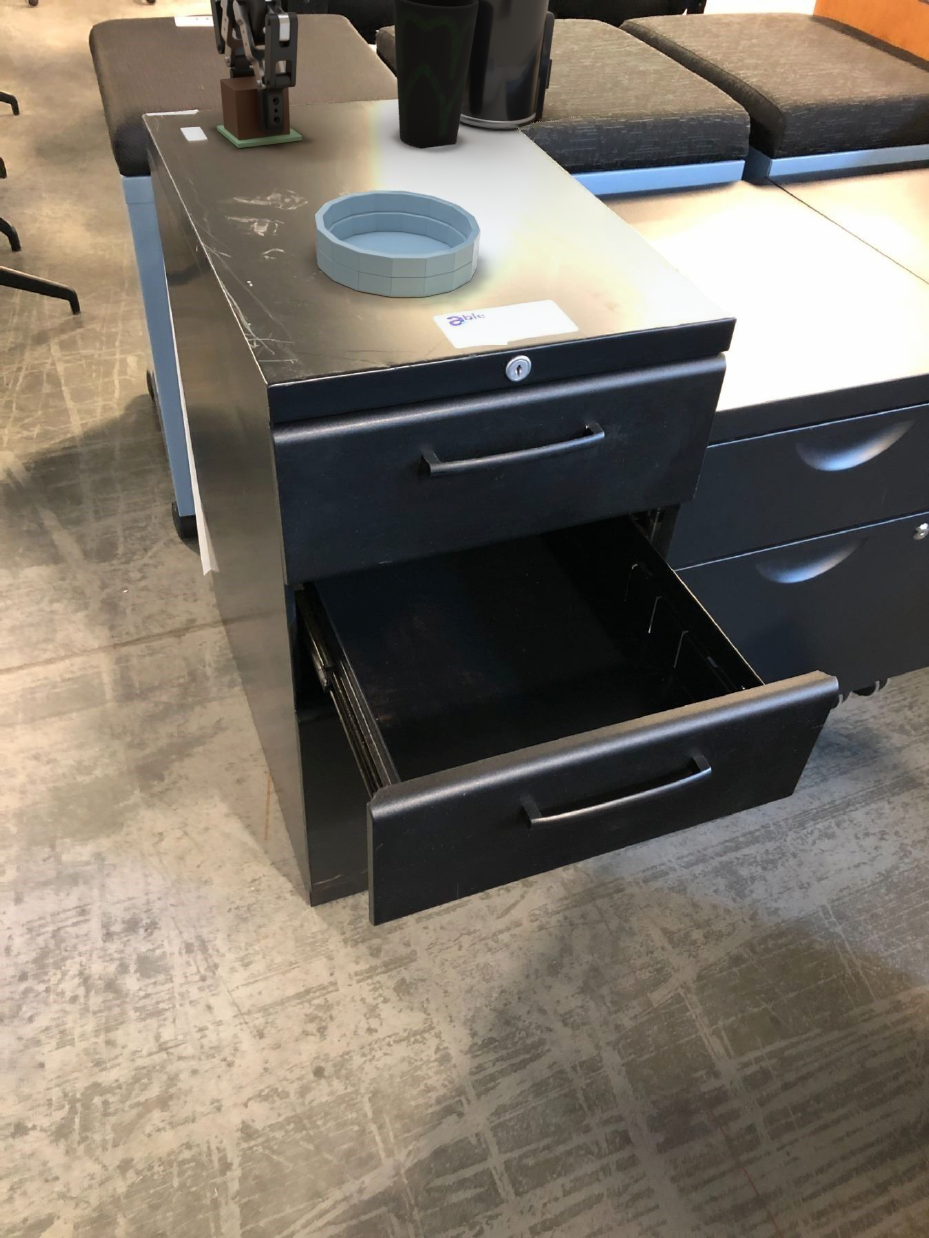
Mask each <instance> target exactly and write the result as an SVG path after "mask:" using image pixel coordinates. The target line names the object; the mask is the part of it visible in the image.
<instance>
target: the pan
mask: <svg viewBox="0 0 929 1238" xmlns="http://www.w3.org/2000/svg"><path fill="white" fill-rule="evenodd" d="M480 239H481V228H480V226H479V223H478V221H477V219H476V216H475V215H473V214H472V213H470V212H469V211H467V210H466V209H465V208H464V207H462V206H460V205H459V204H457V203H454V202H451V201H449V200H445V199H442V198H440V197H437V196H435V195H431V194H426V193H425V194H424V193H420V192H419V193H418V192H414V191H413V192H412V191H406V190H383V189H381V190H380V189H377V190H376V189H373V190H367V191H366V190H365V191H359V192H353V193H346V194H343V195H341V196H338V197H336V198H334V199H331V200H329V201H326V202H325V203H323V205H322V206H321V207H320V208H319V209H318V210H317V211H316V213H314V241H315V243H314V245H315V246H314V247H315V257H316V263H317V267H318V269H320V270H321V271H322V272H323V273H324V274H325V275H326V276H327V277H328V278H329V279H330V280H332V281H334V282H335V283H338V284H340V285H342V286H345V287H348V288H350V289H352V290H355V291H357V292H361V293H365V294H366V293H367V294H372V295H379V296H384V297H389V298H425V297H429V296H435V295H439V294H444V293H448V292H449V293H450V292H452V291H454V290H456V289H458V288H459V287H461V286H463V285H465V284H466V283H469V282H470V281H471V280H472V278H473V276H474V274H475V271H476V270H477V268H478V262H479V261H478V260H479V248H480Z"/></svg>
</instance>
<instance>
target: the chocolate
mask: <svg viewBox="0 0 929 1238" xmlns="http://www.w3.org/2000/svg"><path fill="white" fill-rule="evenodd" d="M219 82H220V83H219V84H220V95H221V97H220V98H221V107H222V108H221V109H222V119H223V125H224V129H226V130H227V131H228V132H229V133H231V134H232V135H233V136H234V137H235V138H237V139H238V140H246V139H254V138H263V137H271V136H279V135H288V134H290V128H291V118H290V94H289V93H290V91H289V90H290V89H289V88H286V89H284V90H283V96H284V119H285V130H284V132H283V133H282V134H276V135H265V134H263V133H262V132H261V131H260V128H259V112H258V95H257V89H258V87H257V83H256V78H255V76H251V77H240V78H220V79H219Z"/></svg>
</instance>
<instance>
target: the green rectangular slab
mask: <svg viewBox="0 0 929 1238" xmlns="http://www.w3.org/2000/svg"><path fill="white" fill-rule="evenodd" d="M216 131H217V132H218V133H220V135H222V136H224V137H225V138H226V139H227V140H228V141H229V142H231V143H232V144H233V145H234V146H235V147H236V148H238V149H243V148H251V147H258V146H259V147H260V146H267V145H275V144H283V143H284V144H285V143H293V142H299V141H303V136H302V135H301V134H300V133H298V132H297V131H296V130H295V129H293V128H292V127H290V134H288V135H279V136H271V137H263V138H254V139H246V140H238V139H237V138H235V137H234V136H233V135H232V134H231V133H229V132H228V131H227V130H226V129H224V124H220V125H217V126H216Z"/></svg>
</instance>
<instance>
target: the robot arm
mask: <svg viewBox="0 0 929 1238" xmlns="http://www.w3.org/2000/svg"><path fill="white" fill-rule="evenodd" d="M478 2H479V5H478V11H477V17H476V23H475V30H474V36H473V42H472V48H471V54H470V61H469V67H468V73H467V79H466V86H465V92H464V98H463V104H462V111H461V117H460V122H461V123H462V124H463V123H464V124H467V125H469V126H470V125H471V126H475V127H479V128H486V129H494V130H495V129H496V130H497V129H498V130H507V129H510V130H511V129H518V128H519V129H520V128H523V127H526V126H529V125H531V124H533V123H534V122H535V121H536V120H537V121H538V120H542V119H543V114H544V106H545V101H546V100H545V99H546V93H547V92H546V91H547V90H548V89H549V88H550V82H551V73H552V66H553V59H552V58H551V54H552V53H551V52H552V43H553V38H554V29H555V22H556V18H555V14H554V13H553V12H551V11H549V3H550V0H478ZM209 3H210V10H211V17H212V24H213V29H214V30H213V32H214V38H215V46H216V47H215V48H216V50H217V53H218V55H224V63H225V65H226V67H227V68H229V77H230V78H240V77H251V76H255V78H256V83H257V87H258V89H257V95H258V112H259V128H260V131H261V132H262V133H263V134H265V135H276V134H282V133H283V132H284V130H285V119H284V96H283V90H284V89H286V88H288V89H289V88H295V87H296V84H297V65H298V64H297V63H298V41H299V40H298V39H299V18H298V15H297V13H296V12H295V11H291V12H290V11H289V12H288V11H287V12H285V11H284V10H283V9H282V1H281V0H209ZM259 46H260V47H261V46H264V48H258V47H259Z"/></svg>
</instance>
